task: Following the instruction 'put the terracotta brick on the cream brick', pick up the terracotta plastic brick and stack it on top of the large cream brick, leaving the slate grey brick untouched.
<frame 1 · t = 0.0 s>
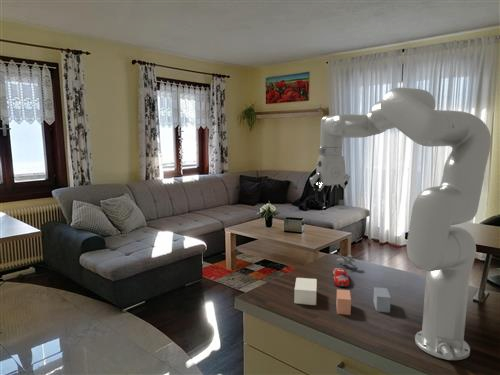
hand: (329, 200, 129), 31 cm above the kitchen counter, tool pointing down, fingers open, 9 cm apart
elephant figurine: (343, 267, 151), on the kitchen counter
slate brick: (381, 307, 116), on the kitchen counter
race car: (340, 282, 137), on the kitchen counter
cream brick: (305, 298, 123), on the kitchen counter
terracotta brick: (343, 309, 115), on the kitchen counter
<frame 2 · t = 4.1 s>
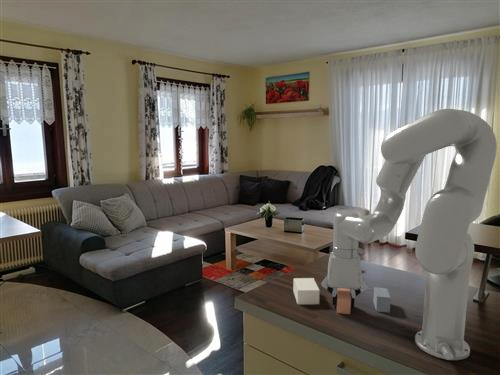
hand: (343, 307, 115), 1 cm above the kitchen counter, tool pointing down, fingers closed on terracotta brick, 3 cm apart
terracotta brick: (342, 307, 115), on the kitchen counter, tilted 6°, touching gripper
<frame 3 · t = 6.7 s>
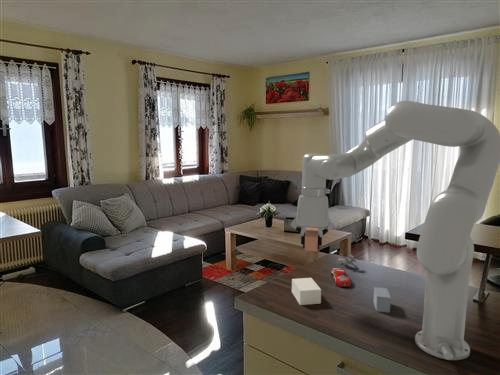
hand: (311, 246, 119), 18 cm above the kitchen counter, tool pointing down, fingers closed on terracotta brick, 4 cm apart
terracotta brick: (311, 245, 120), point 18 cm above the kitchen counter, tilted 11°, touching gripper
when the fingers open (7 cm above the kitchen counter, at t = 9.4 s): terracotta brick drops 3 cm, point 5 cm above the kitchen counter.
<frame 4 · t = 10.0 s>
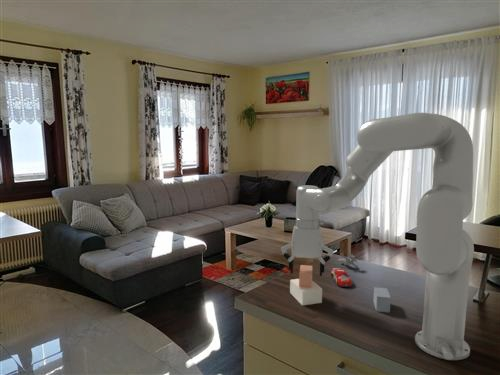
hand: (306, 273, 122), 8 cm above the kitchen counter, tool pointing down, fingers open, 9 cm apart
terracotta brick: (305, 283, 123), point 5 cm above the kitchen counter
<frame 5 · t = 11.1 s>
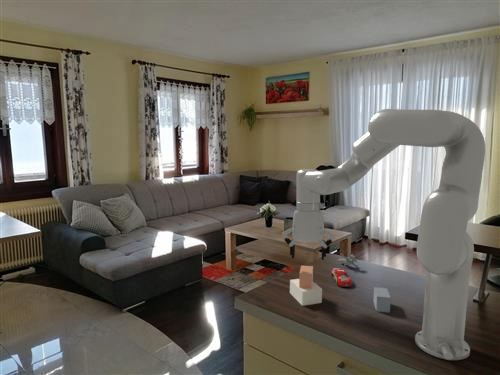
hand: (307, 258, 121), 14 cm above the kitchen counter, tool pointing down, fingers open, 9 cm apart
cream brick: (305, 298, 123), on the kitchen counter, touching terracotta brick
terracotta brick: (306, 283, 122), point 5 cm above the kitchen counter, touching cream brick
everything else where it was.
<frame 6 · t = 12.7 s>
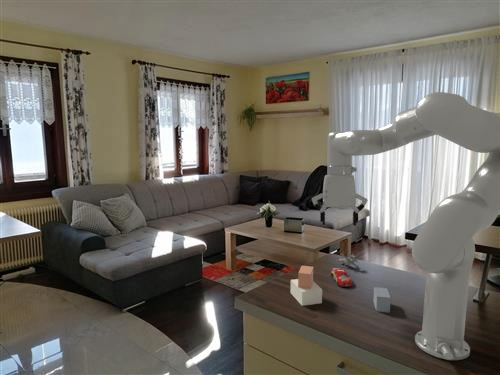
hand: (338, 224, 117), 26 cm above the kitchen counter, tool pointing down, fingers open, 9 cm apart
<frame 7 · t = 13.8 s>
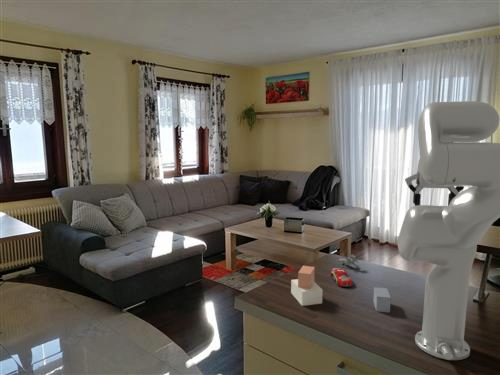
hand: (433, 206, 111), 33 cm above the kitchen counter, tool pointing down, fingers open, 9 cm apart
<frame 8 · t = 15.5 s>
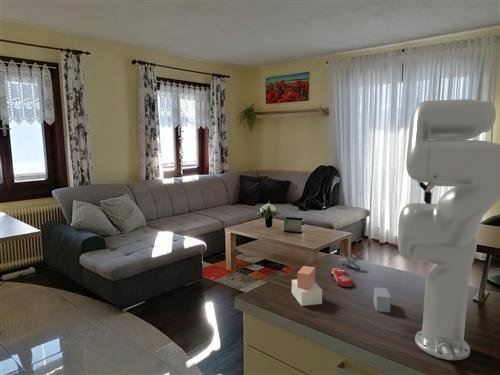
hand: (445, 205, 110), 33 cm above the kitchen counter, tool pointing down, fingers open, 9 cm apart
at the end: terracotta brick 0.2 cm off-centre on the cream brick, point 5.0 cm above the cream brick's base; terracotta brick tilted 1°; slate brick moved 0.2 cm from its start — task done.
